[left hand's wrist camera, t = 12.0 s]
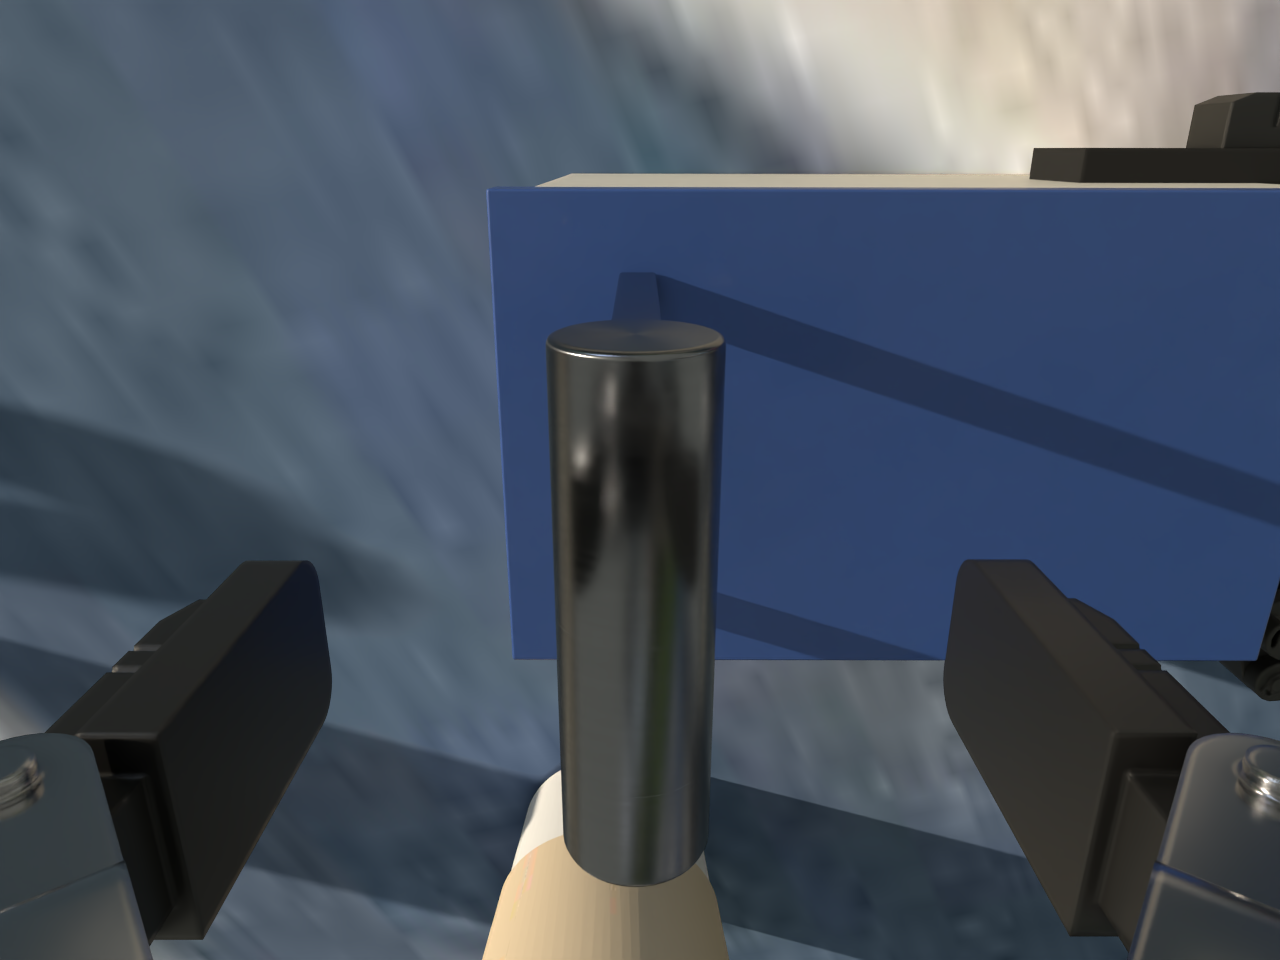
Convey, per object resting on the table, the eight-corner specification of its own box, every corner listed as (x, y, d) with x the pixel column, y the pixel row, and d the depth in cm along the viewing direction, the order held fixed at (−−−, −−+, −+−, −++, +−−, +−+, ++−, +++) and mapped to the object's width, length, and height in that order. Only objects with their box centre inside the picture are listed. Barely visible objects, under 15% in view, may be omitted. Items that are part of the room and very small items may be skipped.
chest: (577, 484, 30) (548, 637, 21) (569, 173, 26) (530, 186, 17) (1044, 484, 30) (1229, 638, 21) (1098, 174, 26) (1351, 187, 17)
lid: (518, 638, 21) (436, 964, 12) (493, 186, 17) (356, 220, 9) (1230, 639, 21) (1624, 966, 12) (1353, 188, 17) (2019, 223, 9)
